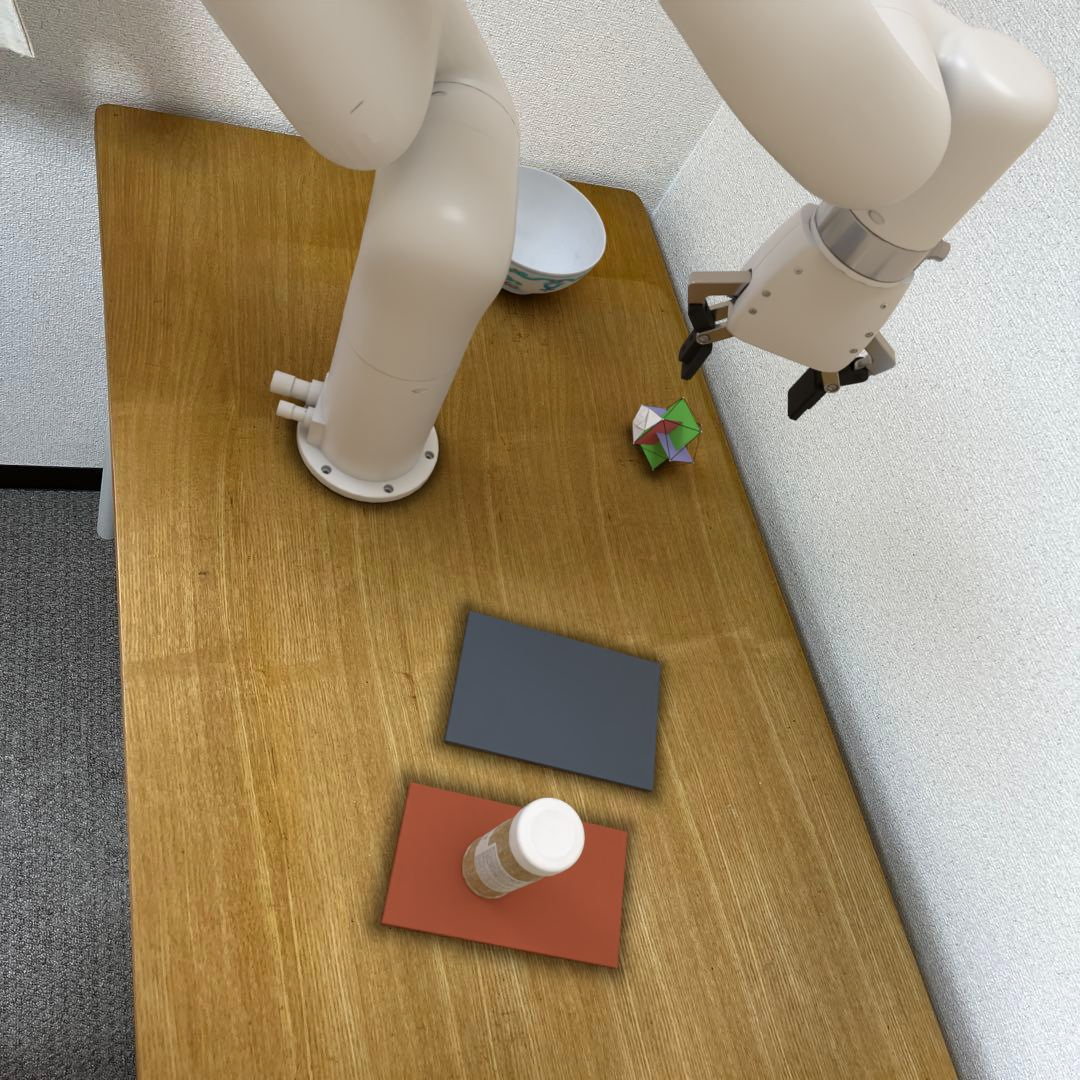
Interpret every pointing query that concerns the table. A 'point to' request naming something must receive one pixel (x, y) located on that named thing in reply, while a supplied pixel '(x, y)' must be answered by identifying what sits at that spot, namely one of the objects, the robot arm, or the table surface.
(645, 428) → the geometric puzzle
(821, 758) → the table surface
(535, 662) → the back mat
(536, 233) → the chinaware
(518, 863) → the sprinkles bottle
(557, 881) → the front mat
